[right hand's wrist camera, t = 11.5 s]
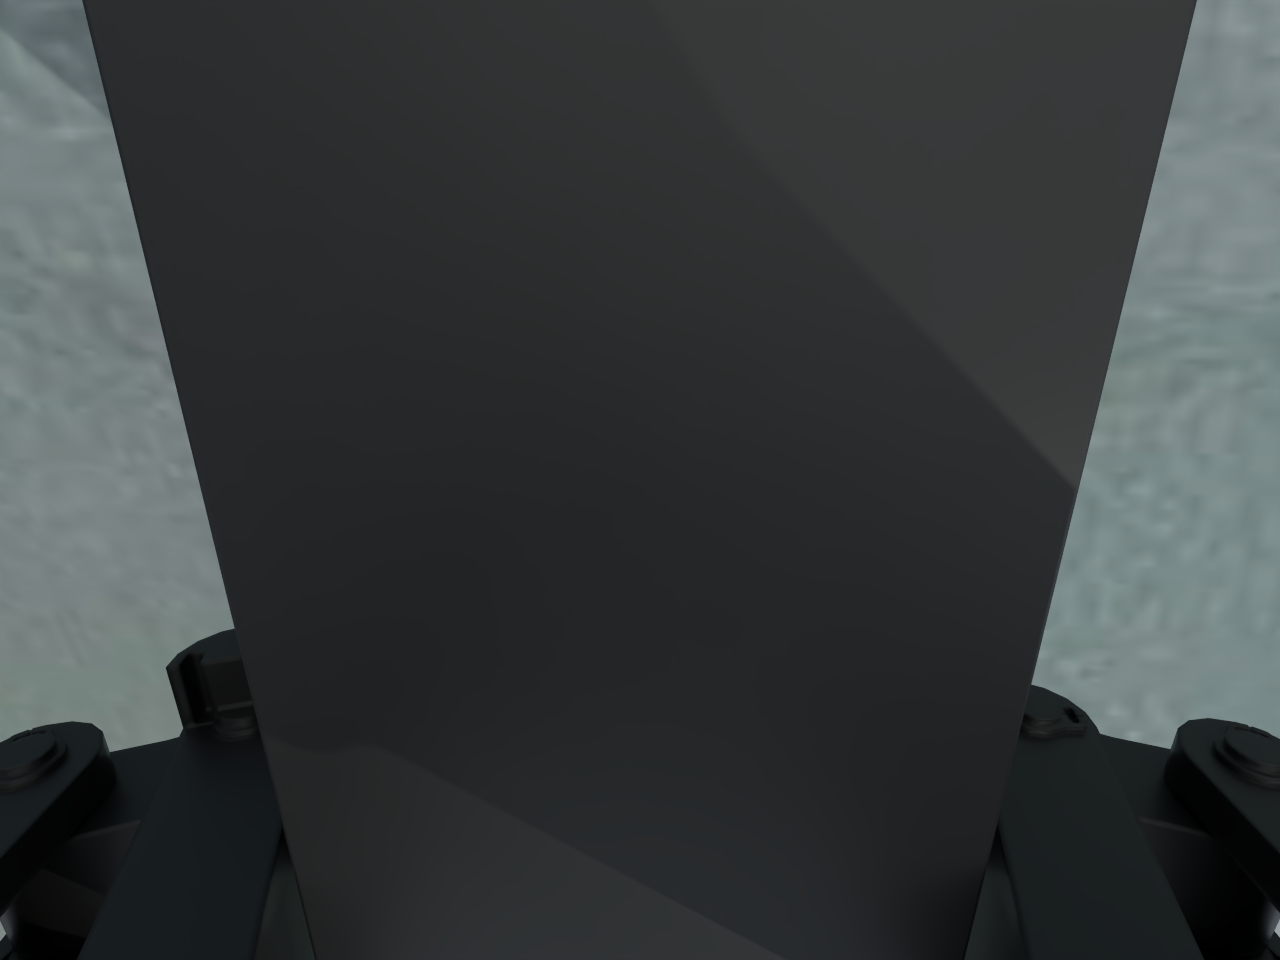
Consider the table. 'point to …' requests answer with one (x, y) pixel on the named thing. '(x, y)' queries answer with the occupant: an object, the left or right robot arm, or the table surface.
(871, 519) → the box
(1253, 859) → the right robot arm
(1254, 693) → the table surface
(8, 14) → the table surface
